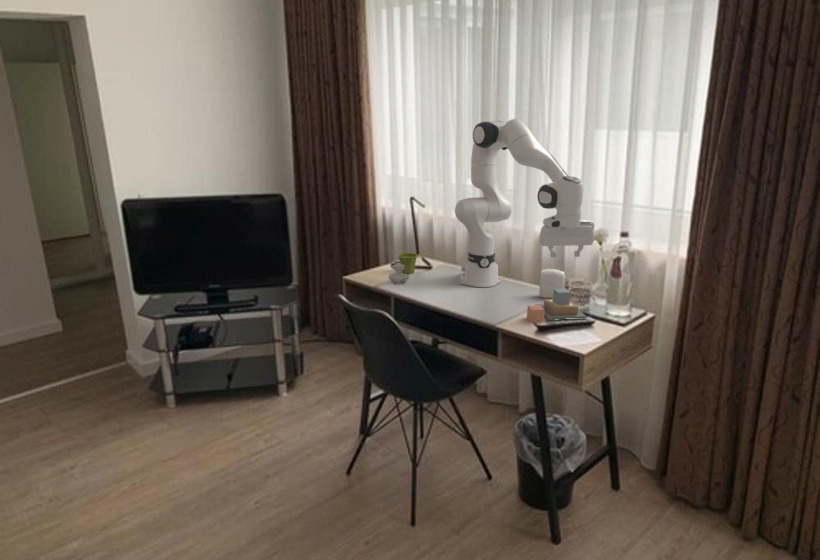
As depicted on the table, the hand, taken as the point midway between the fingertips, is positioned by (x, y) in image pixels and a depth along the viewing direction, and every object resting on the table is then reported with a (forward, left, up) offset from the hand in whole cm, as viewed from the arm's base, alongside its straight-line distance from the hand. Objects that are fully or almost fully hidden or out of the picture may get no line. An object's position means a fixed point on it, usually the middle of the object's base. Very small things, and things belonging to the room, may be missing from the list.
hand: (564, 256), depth 227 cm
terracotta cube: (+6, -12, -23) cm, 27 cm away
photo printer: (-19, +3, -23) cm, 30 cm away
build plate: (0, 0, -23) cm, 23 cm away
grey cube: (0, 0, -18) cm, 19 cm away
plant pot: (-62, -53, -23) cm, 85 cm away
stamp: (-46, -59, -23) cm, 78 cm away
